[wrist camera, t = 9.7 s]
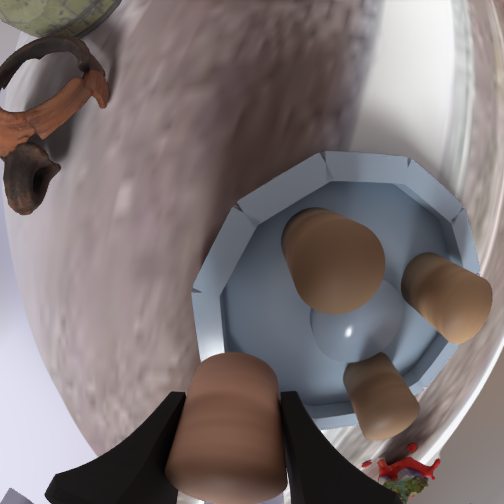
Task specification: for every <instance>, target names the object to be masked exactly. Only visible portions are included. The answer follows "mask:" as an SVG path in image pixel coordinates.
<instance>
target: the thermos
mask: <svg viewBox="0 0 504 504" xmlns="http://www.w3.org/2000/svg"><path fill="white" fill-rule="evenodd" d="M121 1H122V0H0V19H1V20H2V22H4V23H7V24H9V25H11V26H13V27H15V28H17V29H19V30H21V31H23V32H25V33H27V34H29V35H31V36H35V37H38V38H40V37H41V38H42V37H46V36H50V35H61V34H63V35H69V36H70V37H72V36H73V37H76V38H78V39H81V38H82V37H83V36H85V35H87V34H88V33H90V32H91V31H93V30H94V29H95V28H97V27H98V26H99V25H100V24H101V23H102V22H103V21H105V20H106V19H107V18H108V17H109V16H110V15H111V13H112V12H113V11H114V10H115V9H116V8H117V7H118V6H119V4H120V2H121Z"/></svg>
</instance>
